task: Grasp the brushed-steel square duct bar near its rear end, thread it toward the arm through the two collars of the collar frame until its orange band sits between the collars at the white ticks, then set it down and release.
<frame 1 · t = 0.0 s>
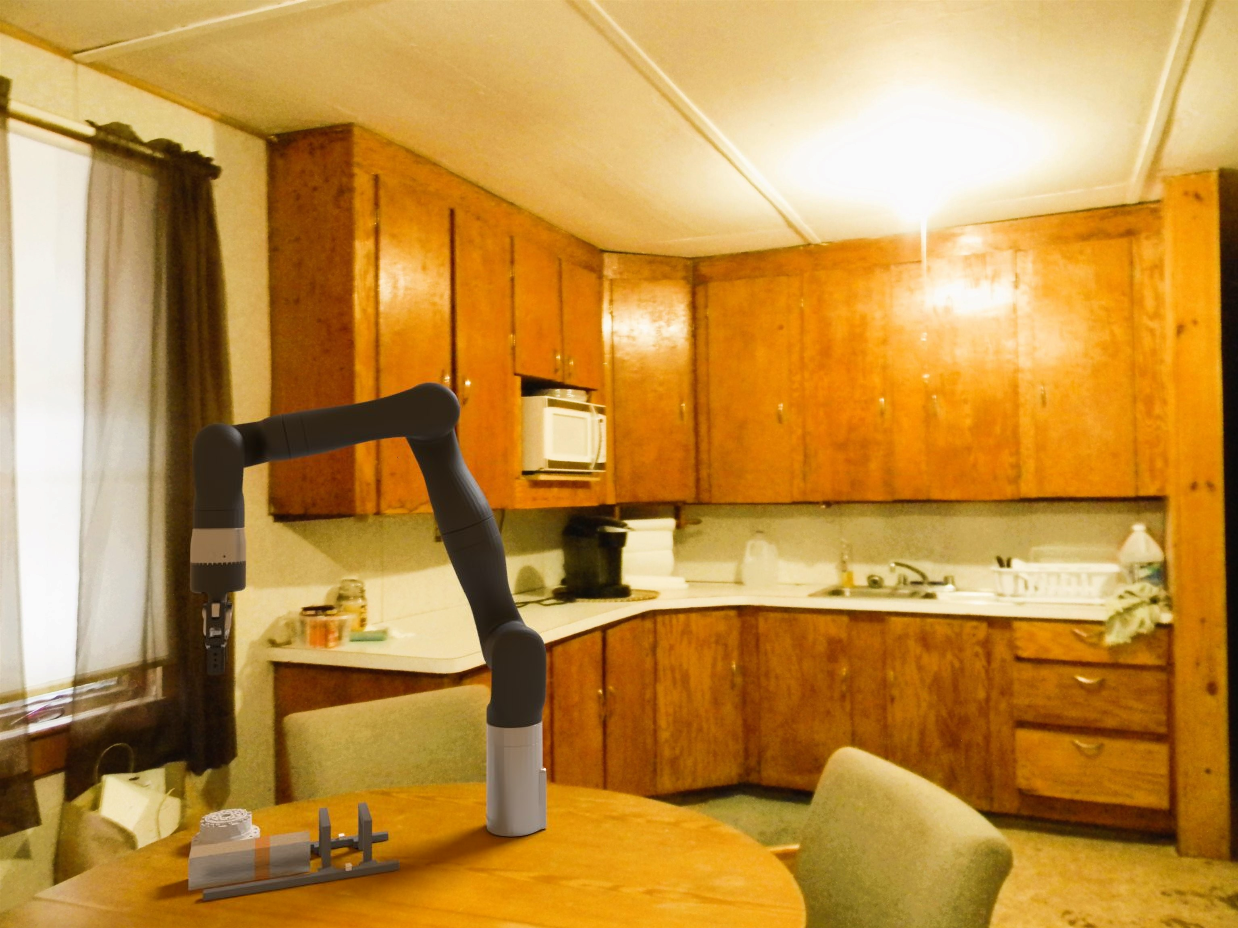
hand: (217, 669, 129), 29 cm above the table, fingers open, 8 cm apart
collar frame: (303, 866, 130), on the table
mechanical component: (225, 844, 139), on the table
duct bar: (251, 874, 127), on the table
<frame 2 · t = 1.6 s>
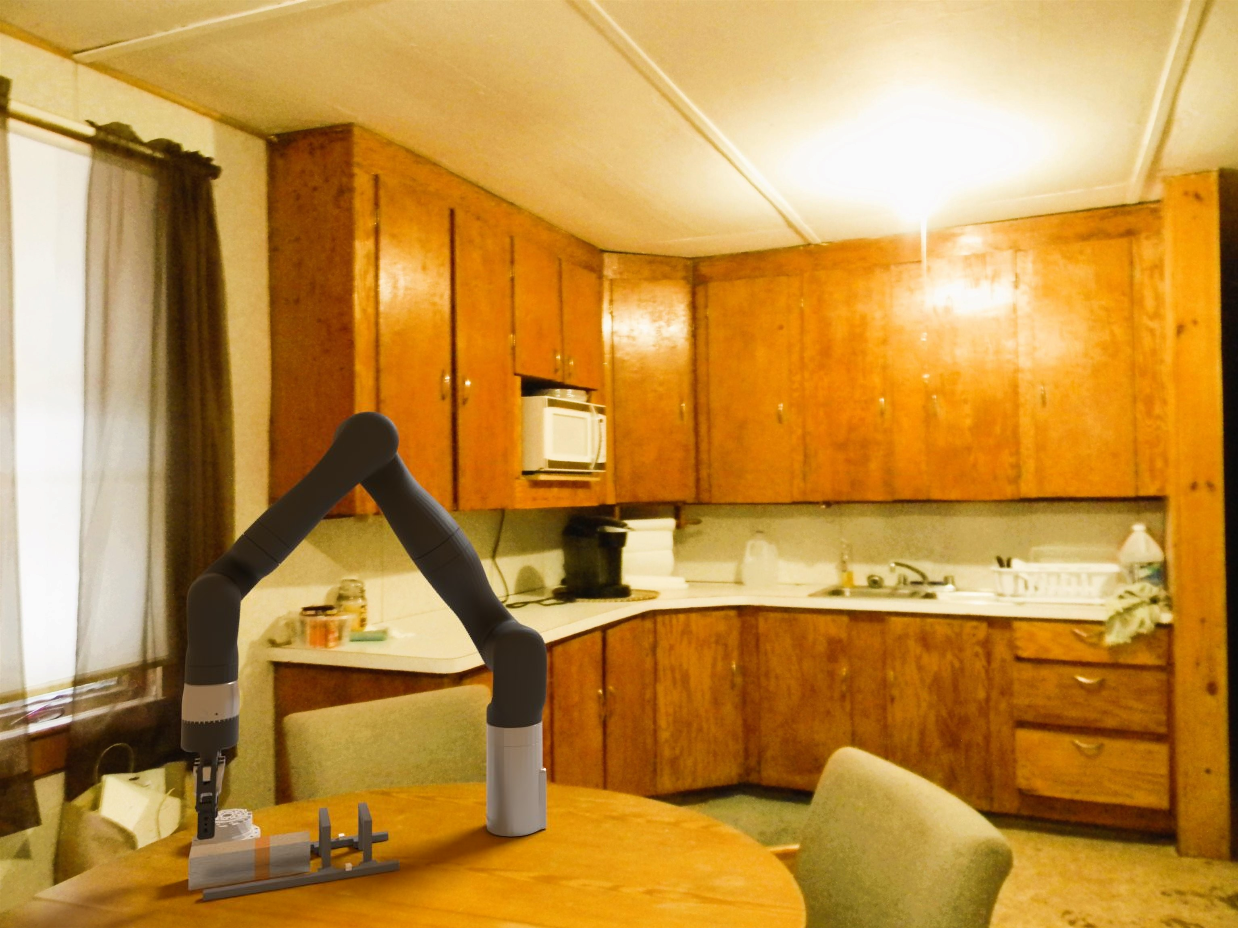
hand: (207, 828, 125), 7 cm above the table, fingers open, 8 cm apart
nothing on the table moved.
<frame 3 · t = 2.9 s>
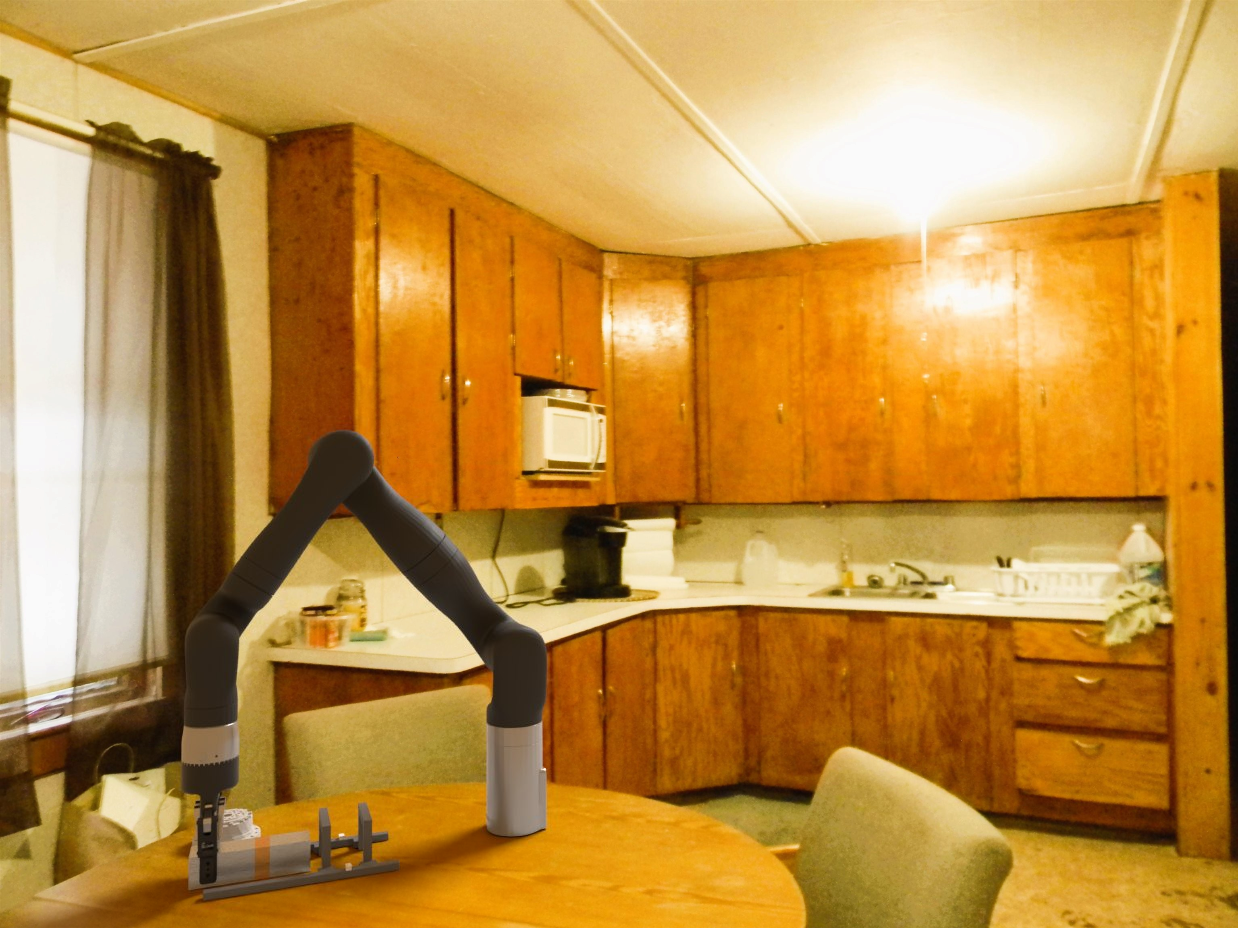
hand: (209, 875, 125), 1 cm above the table, fingers closed on duct bar, 4 cm apart
duct bar: (250, 874, 127), on the table, touching gripper
everything else where it was.
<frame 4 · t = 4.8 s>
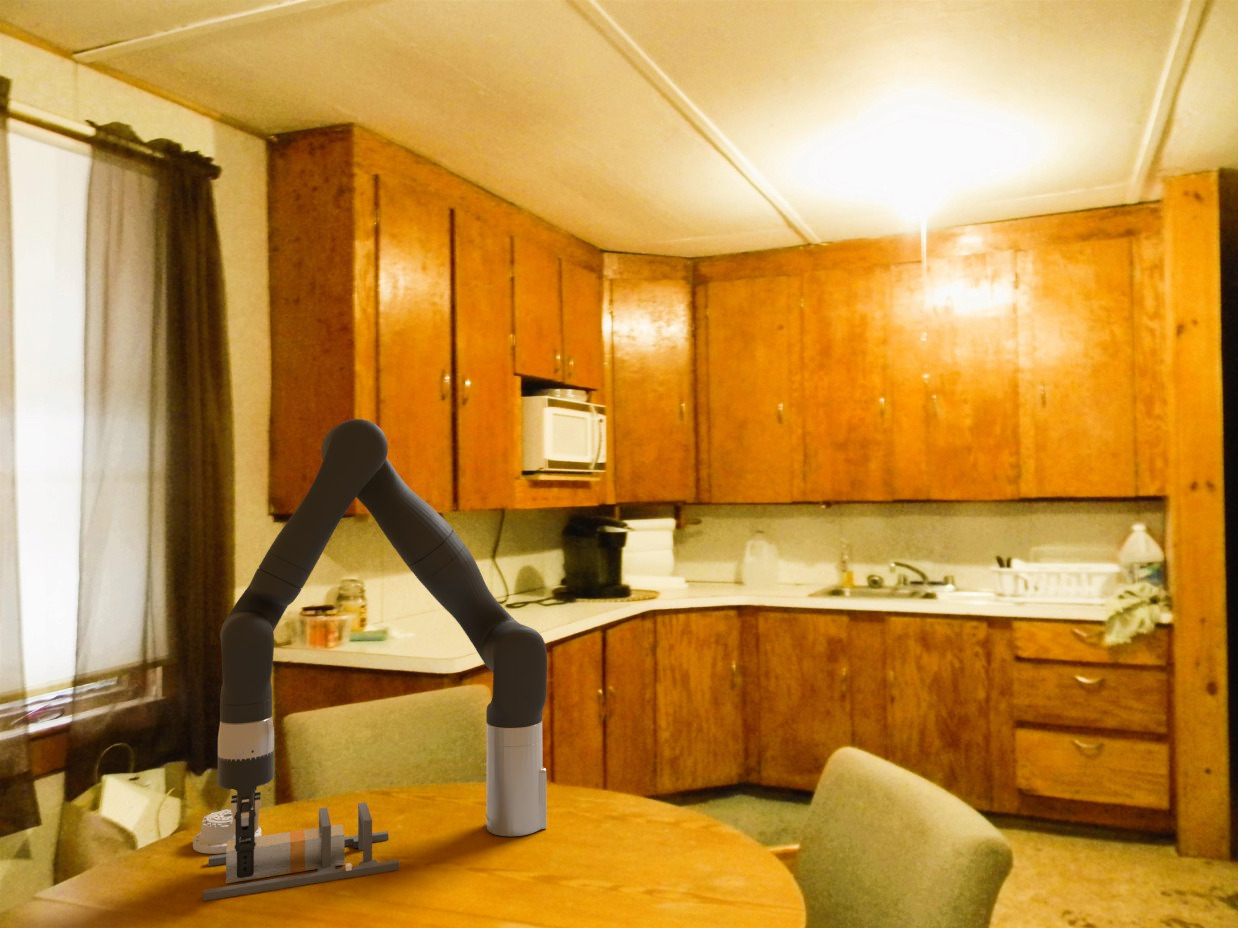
hand: (245, 868, 127), 1 cm above the table, fingers closed on duct bar, 4 cm apart
duct bar: (286, 867, 129), on the table, touching gripper
everything else where it was.
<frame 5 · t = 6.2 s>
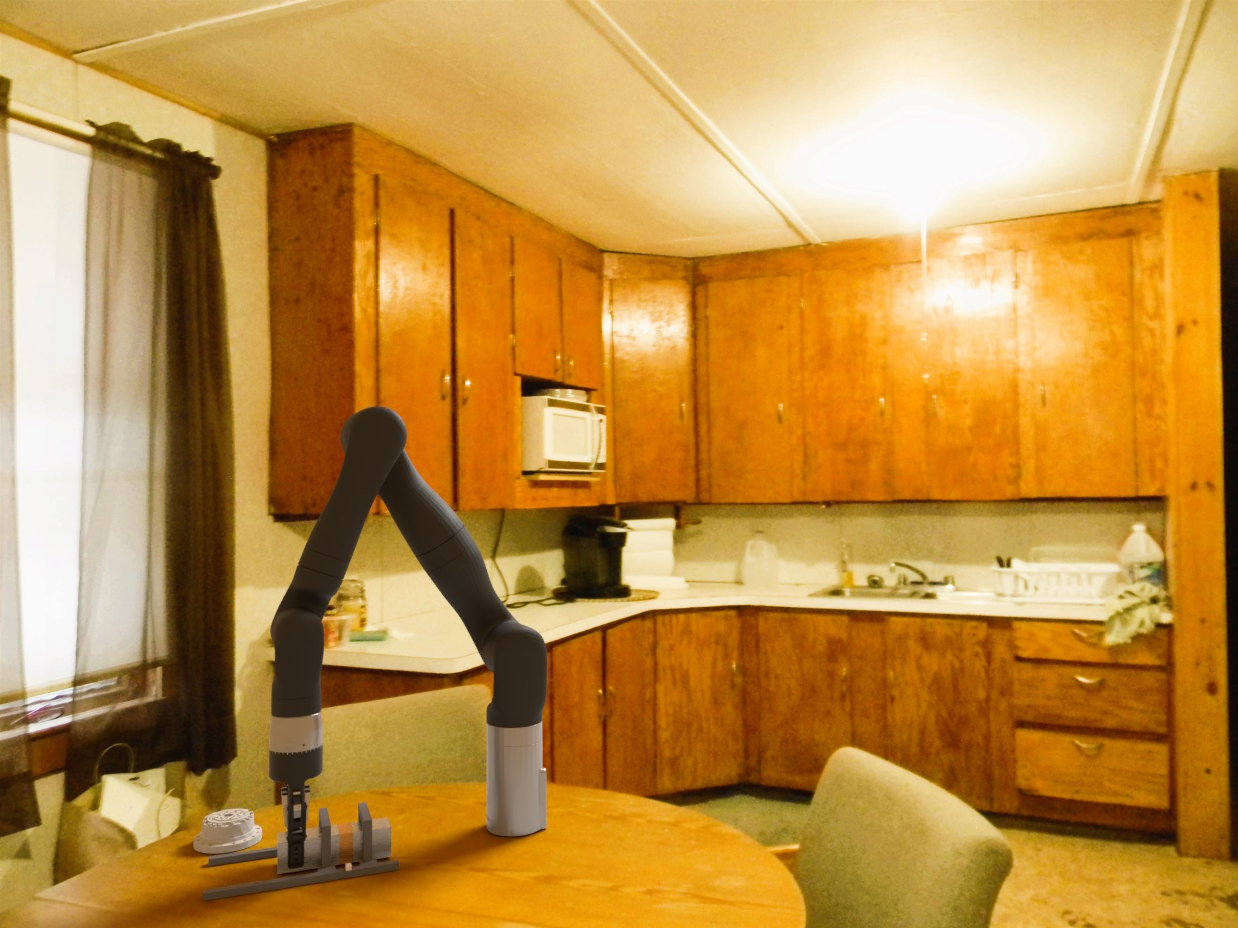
hand: (295, 860, 129), 1 cm above the table, fingers closed on duct bar, 4 cm apart
duct bar: (334, 859, 131), on the table, touching gripper
everything else where it was.
when the fingers open (1 cm above the table, at t = 7.1 s): duct bar stays where it is, on the table.
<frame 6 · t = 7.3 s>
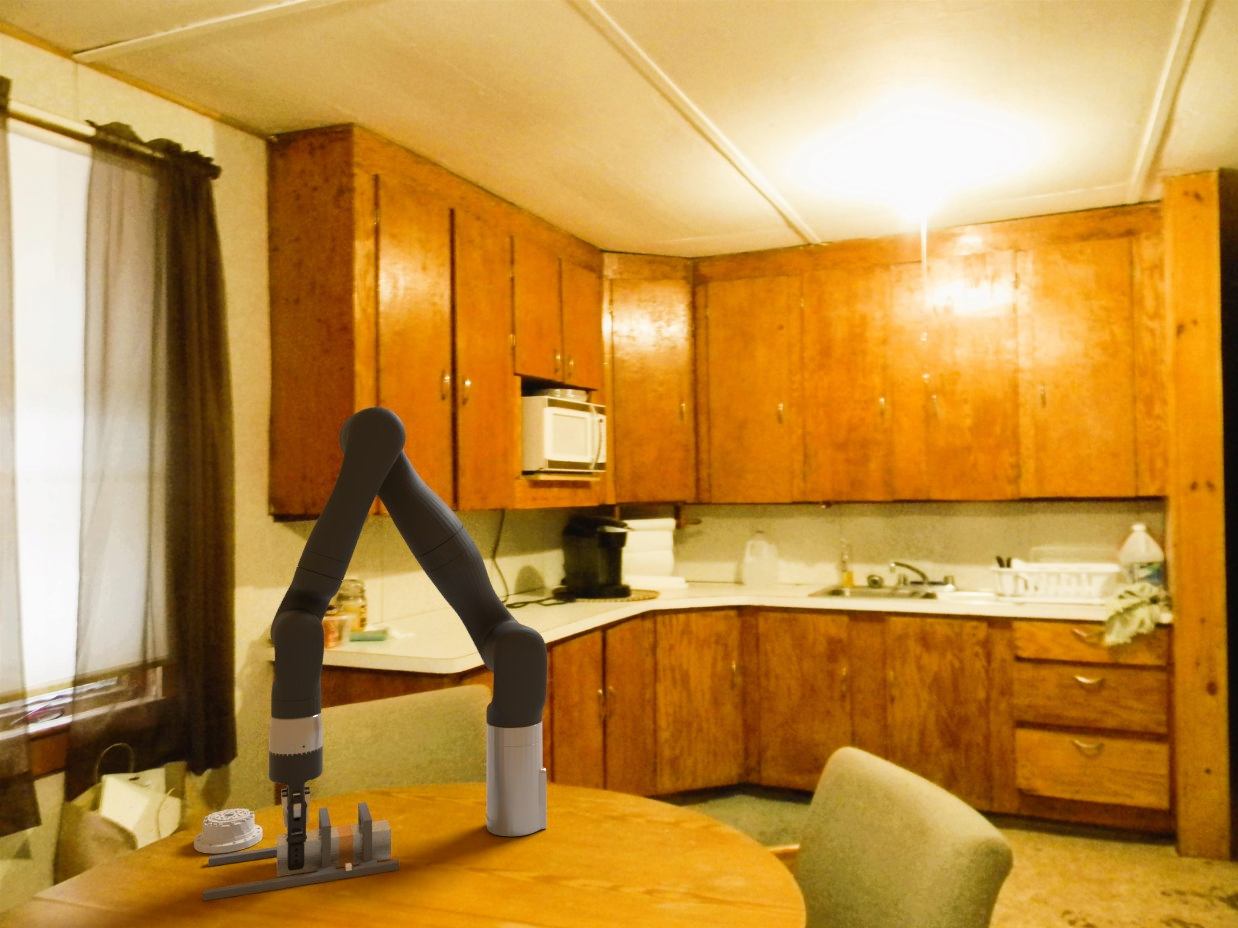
hand: (295, 860, 129), 1 cm above the table, fingers open, 5 cm apart
duct bar: (334, 862, 131), on the table
everything else where it was.
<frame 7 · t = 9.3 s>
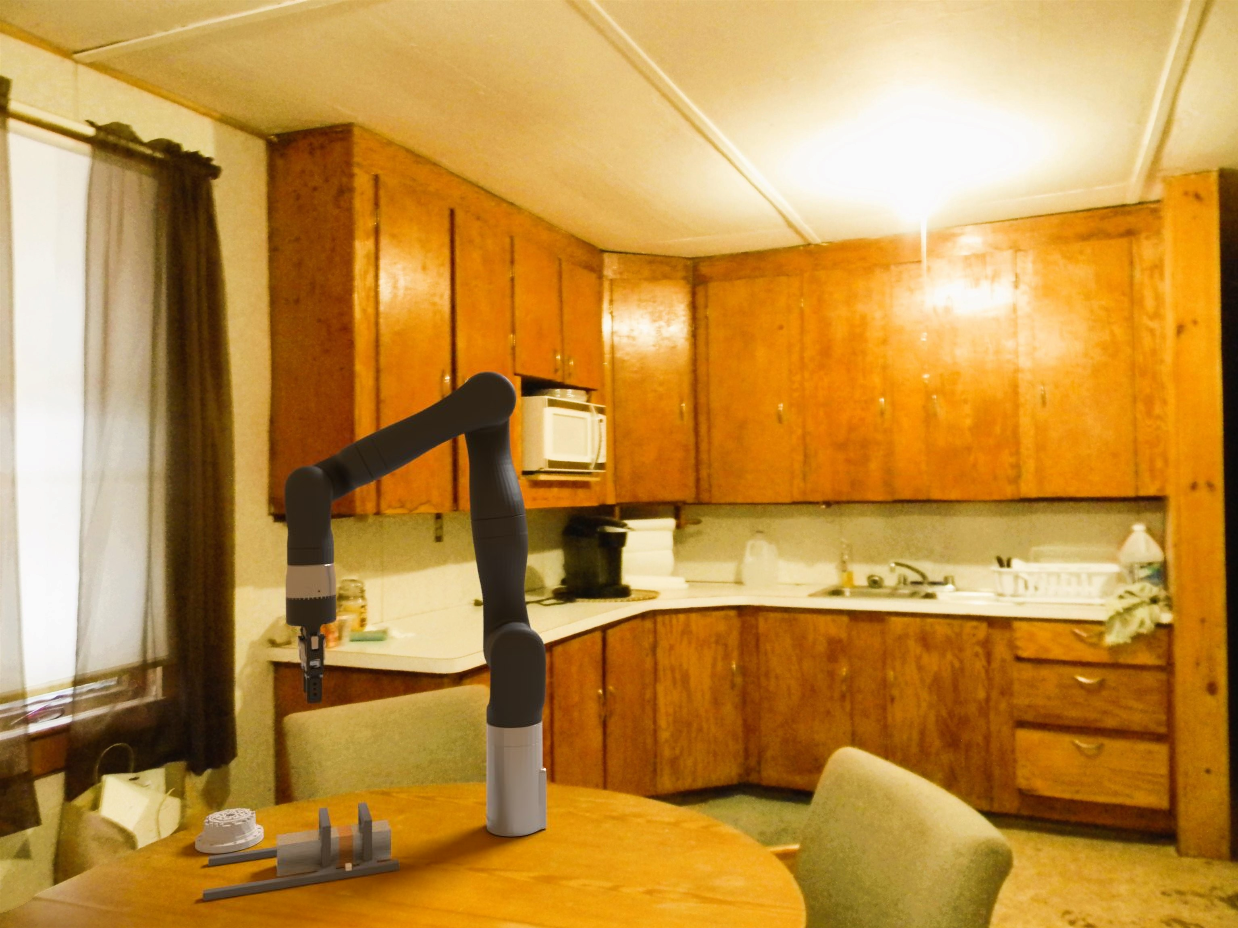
hand: (312, 697, 137), 23 cm above the table, fingers open, 8 cm apart
nothing on the table moved.
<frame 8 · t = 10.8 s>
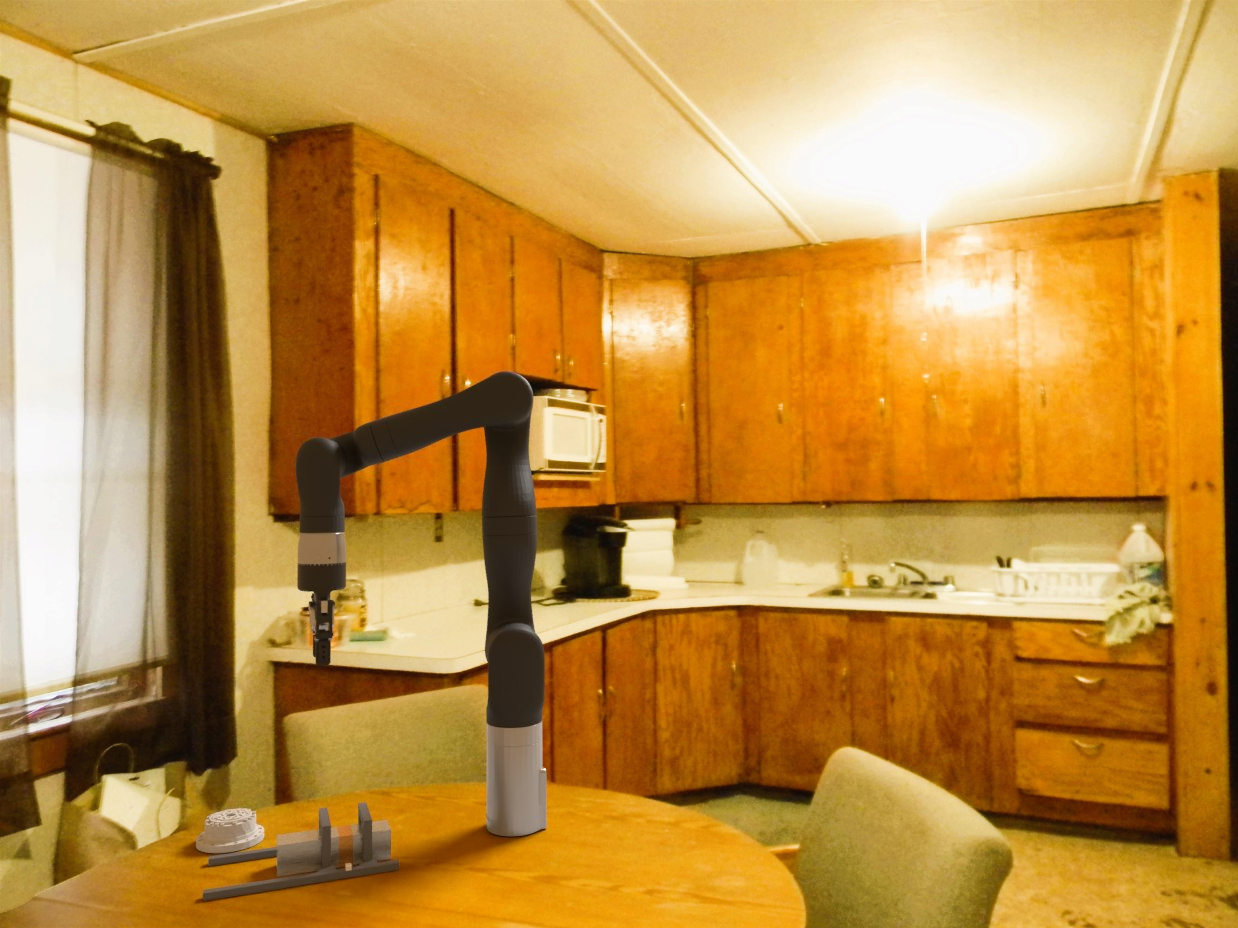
hand: (321, 660, 142), 28 cm above the table, fingers open, 8 cm apart
nothing on the table moved.
at the end: duct bar 0.1 cm from the target spot, on the table; duct bar tilted 0°; the gripper is holding nothing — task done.
